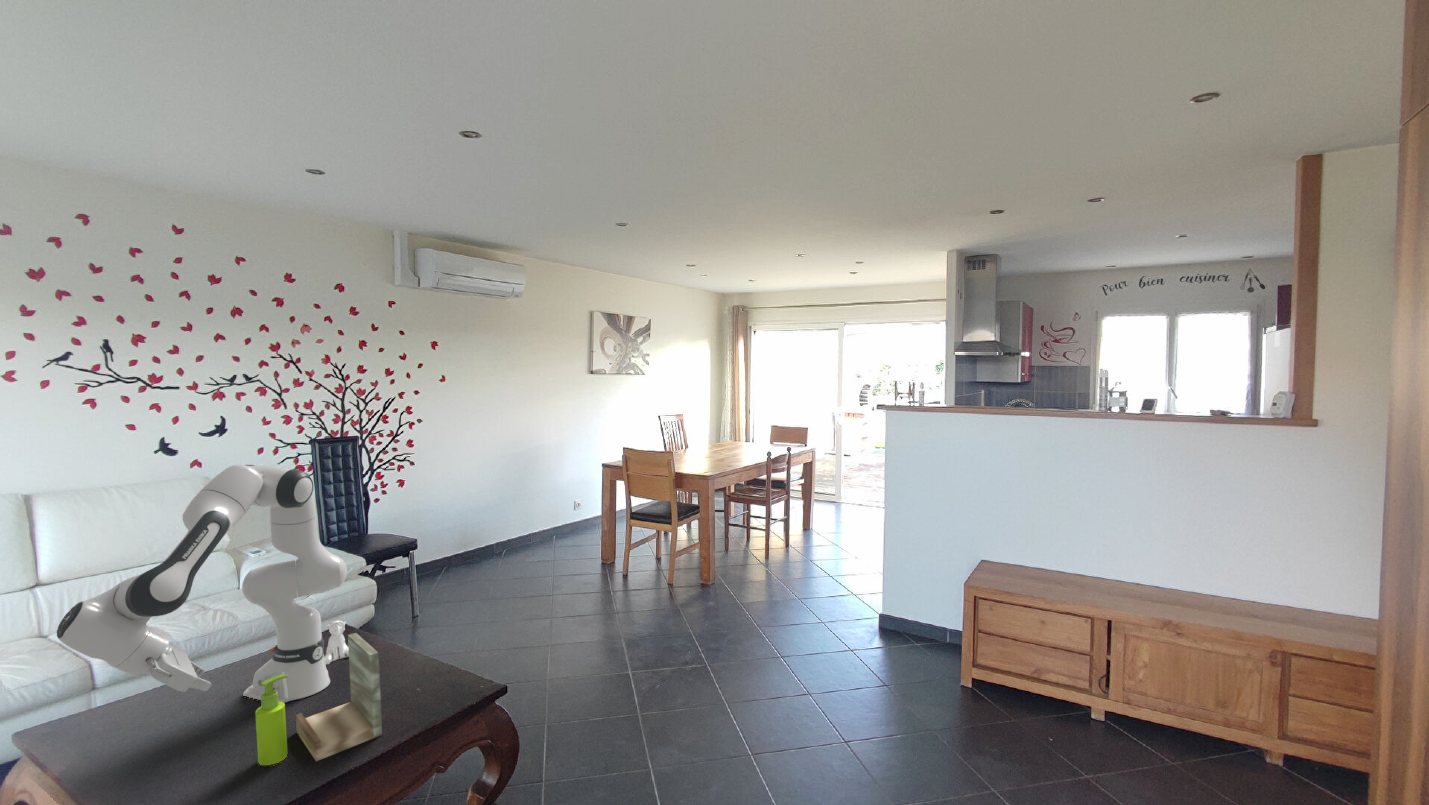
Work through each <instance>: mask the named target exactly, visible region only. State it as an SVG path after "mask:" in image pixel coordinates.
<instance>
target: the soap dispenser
mask: <svg viewBox="0 0 1429 805" xmlns="http://www.w3.org/2000/svg"><path fill="white" fill-rule="evenodd" d="M287 677H288V676H287V675H284V674H281V675H277V676H274V677H271V678H269V679H267V680H265V681H263V682H261V683H260V685H261V686H264V687H265V693H264V694H262V695H261V701H260V703H261V706H259V707H258V708H257V709H256V710H255V712H254V714H255V730H256V731H255V732H256V748H257V749H256V750H257V764H258V763H259V764H260V765H271V764H275V763H279V762H280V761H282V760H284V759H285V758H286V757H287V758H288V756H287V754H288V740H287V739H288V738H287V737H288V736H287V721H286V720H287V719H286V718H287V717H286V704H285V703H286V702H285V703H284V702H278V691H275V690H273V683H274V682H276V681H278V680H281V679H284V678H287ZM287 758H286V759H287ZM286 759H285V760H286ZM285 760H284V761H285ZM282 762H283V761H282ZM280 763H281V762H280ZM280 763H279V764H280Z"/></svg>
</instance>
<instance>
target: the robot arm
mask: <svg viewBox="0 0 1429 805" xmlns="http://www.w3.org/2000/svg"><path fill="white" fill-rule="evenodd" d="M313 492H314V481H313V479H312V478H311V476H310V474H308V473H307V472H305V471H303V470H300V469H296V468H293V469H292V468H289V467H283V466H277V465H255V464H234V465H230V466H228V467H226V468H225V469H224V470H222V471H221V472H220V473H218V474H217V475H216V476H214V477H213V478H212V479H211V480H209V482H208V483H207V484H206V485H204V487H202V489H200V490H199V492H197V493H196V495H195V496H194V497H193V498H192V500H191V501H190V502H189V503H188V505H187V506H186V509H185V510H184V512H183V514H182V522H183V525H184V526H185V528H186V529H187V532H186V534H185V535H184V537H183V538H182V539H181V540H180V542H179V543H178V544H177V545H176V546H175V548H174V549H173V550H172V551H171V553H170V554H169V555H168V556H167V557H166V559H164V561H162V562H161V563H160V564H158V565H156V566H154V567H152V568H151V569H149V570H146V571H144V572H142V573H141V574H138V575H135V576H132V577H130V578H127V579H126V580H122V581H121V582H120V583H118V584H116V585H115V586H113V587H112V588H110V589H109V590H107V591H104V592H103V593H101V594H99V595H97V596H94V597H92V598H89V599H87V600H83V601H82V600H81V601H78V603H76V604H75V605H74V606H72V608H70V610H69V611H68V612H67V613H66V614H65V615H64V617H63V618H62V619H61V621H60V623H59V624H58V626H57V630H56V637H57V639H58V640H59V641H60V642H61V643H62V644H63V645H65V646H66V647H69V648H70V649H72V650H74V651H76V652H77V653H79V654H82V655H84V656H86V657H89V658H91V659H98V660H101V661H104V662H106V664H108V665H109V666H110V667H111V668H114V669H117V670H119V671H122V672H124V673H126V674H128V675H131V676H132V677H139V676H141V675H142V674H147V675H149V674H150V676H151V677H152V679H154V680H156V682H160V683H161V684H164V685H165V686H167V687H170V688H171V689H174V690H176V691H178V692H182V693H184V692H185V693H186V692H187V691H188V690H189V689H190V688H191V689H196V690H200V691H203V692H207V691H208V690H209V689H211V687H212V682H211V681H209V680H207V679H203V678H201V677H202V676H203V675H204V674H205V670H204V668H203V667H201V666H198V665H197V664H196V663H194V662H193V661H191V660H190V658H189V656H188V654H187V652H186V651H185V650H184V649H183V648H181V647H180V646H178V645H177V644H174V643H173V642H172V641H171V637H170V636H168V635H166V634H164V633H162V632H159V631H157V630H155V629H153V628H151V627H149V626H148V625H147V623H148V621H150V619H151V618H152V617H153V618H154V617H161V616H165V615H169V614H171V613H173V612H175V611H176V610H178V609H179V608H181V607H182V606H183V605H184V603H185V602H186V601H187V600H188V598H189V595H190V593H191V590H192V586H193V583H194V580H195V578H196V575H197V573H198V572H199V570H200V568H201V567H202V566H203V565H204V563H205V562H206V560H208V558H209V557H210V556H211V554H212V552H213V551H214V550H215V549H216V547H218V545H219V543H220V542H221V540H223V538H224V537H225V536H226V535H227V534H228V533H229V532H230V531H231V530H232V529H233V528H235V526H236V525H237V524H238V523H239V522H240V521H241V519H243V517H244V516H245V514H246V513H247V512H248V511H249V509H251V506H256V507H262V508H263V507H264V508H265V507H268V508H269V507H270V513H269V514H270V515H269V517H270V520H269V521H270V522H269V523H270V532H271V535H270V536H271V544H272V546H273V547H274V548H275V549H276V550H277V551H279V552H280V553H284V554H288V555H292V556H294V557H296V558H297V559H294V560H293V559H292V560H287V561H281V562H275V563H270V564H265V565H263V566H259V567H256V568H254V569H251V570H249V571H248V572H247V574H246V575H245V576H244V579H243V580H242V584H241V591H242V594H243V596H244V598H245V599H246V600H247V601H249V602H250V603H252V604H254V605H256V606H258V607H260V608H262V609H263V610H265V611H266V612H267V613H268V614H269V615H270V617H271V619H272V620H273V623H274V628H275V633H276V645H275V646H274V647H272V648H270V649H269V653H268V654H272V653H273V655H272V657H271V658H270V659H269V660H268V661H267V662H266V663H264V664H263V665H262V666H261V667H259V668H258V669H257V670H256V671H255V673H254V675H253V679H252V684H251V685H250V686H248V687H247V688H246V689H245V690H244V691H243V694H242V697H243V696H247V697H249V698H248V699H250V698H253V699H252V700H254V699H258V700H261V695H262V694H264V693H265V687H264V686H261V685H260V683H261V682H263V681H265V680H267V679H269V678H271V677H274V676H277V675H281V674H284V675H287V676H288V677H287V678H284V679H281V680H278V681H276V682H274V683H273V690H275V691H278V702H284V703H288V702H291V701H295V700H301V699H304V698H306V697H309V696H312V695H316V694H317V693H319V692H321V691H322V690H324V689H326V688H327V687H328V686H330V683H331V678H330V676H329V671H328V669H327V664H325V659H324V656H325V654H324V651H325V650H324V649H325V640H324V636H323V635H322V619H321V618H322V616H321V614H320V612H319V610H317V609H316V608H313V607H311V606H307V605H302V604H299V603H298V602H296V601H295V600H296V599H298V598H301V597H308V596H313V595H319V594H323V593H327V592H330V591H333V590H335V589H337V588H340V587H342V585H343V584H344V582H346V579H347V576H348V568H347V564H346V562H345V561H344V560H343V559H342V558H341V557H340V556H338V555H336V554H333V553H332V552H330V551H329V550H327V549H326V547H325V546H324V545H323V544H322V542H321V540H320V537H319V532H318V526H317V525H318V524H317V511H316V510H317V509H316V504H315V497H314V494H313ZM258 700H257V701H258Z"/></svg>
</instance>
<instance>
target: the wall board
mask: <svg viewBox="0 0 1429 805" xmlns="http://www.w3.org/2000/svg"><path fill="white" fill-rule="evenodd" d="M347 646H348V649H349V656H348V666H349V684H350V686H349V688H350V701H349V702H347V703H344V704H341V705H338V706H335V707H332V708H330V709H327V710H324V711H322V712H318V713H315V714H312V715H310V716H308V717H305V715H303V713H302V712H300V713H298V714H295V722H296V724H295V725H296V733H297V735H298V734H299V735H298V737H299V738H300V740H301V741H302V742H303V744H304V746H305V747H306V749H307V750H308V752H309V753H310V754H311V756H312V757H313V759H314V761H315V762H319V761H320V760H323V759H326V758H328V757H331V756H333V755H336V754H338V753H341V752H343V751H345V750H348V749H351V748H353V747H356V746H358V745H360V744H361V745H362V743H366V742H368V741H370V740H373V739H375V738H378V737H381V736H382V735H383V726H382V701H381V700H382V699H381V698H382V696H381V680H380V678H381V677H380V660H379V659H380V658H379V656H380V655H379V652H378V651H377V650H376V649H375V648H374V647H373V646H372V645H371V644H370V643H368V642H367V641H366V640H365V639H364V638H362V637H361V635H359V634H358V633H357V632H354V633H353V632H352V633H350V634H347Z"/></svg>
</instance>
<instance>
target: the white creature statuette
mask: <svg viewBox="0 0 1429 805" xmlns="http://www.w3.org/2000/svg"><path fill="white" fill-rule="evenodd" d="M346 622H347V620H345V621H342V620H335V621H332V622H331V623H330V624H325V626H326V627H327V628H328V630H329V633H330V635H331V636H330V637H328V643H327V647H326V651H325V654H324V659H325V664H326V666H328V665H329V664H331V663H332V662H335V661H338V660H341V659H344V658H349V649H348V644H346V639H345V636H344V634H343V633H344V631H345V630H346V628H345V626H346Z"/></svg>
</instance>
